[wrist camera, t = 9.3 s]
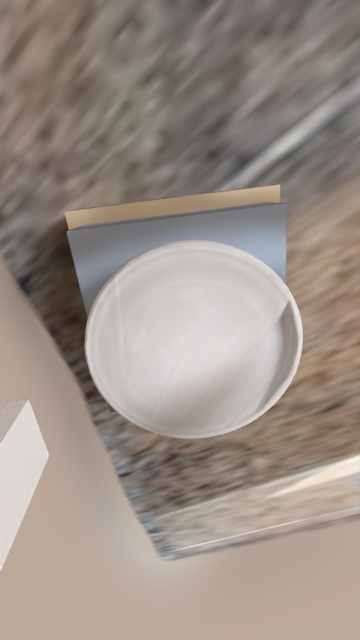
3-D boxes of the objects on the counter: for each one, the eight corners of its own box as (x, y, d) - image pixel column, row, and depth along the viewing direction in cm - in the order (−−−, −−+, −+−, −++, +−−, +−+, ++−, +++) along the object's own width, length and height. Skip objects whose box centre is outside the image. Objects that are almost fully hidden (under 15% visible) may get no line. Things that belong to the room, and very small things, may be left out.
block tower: (78, 209, 26) (44, 215, 18) (263, 185, 26) (304, 183, 18) (114, 369, 31) (99, 424, 24) (265, 350, 31) (298, 398, 24)
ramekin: (260, 389, 23) (286, 441, 19) (106, 389, 23) (91, 443, 18) (284, 232, 19) (326, 246, 14) (97, 226, 19) (74, 238, 14)
